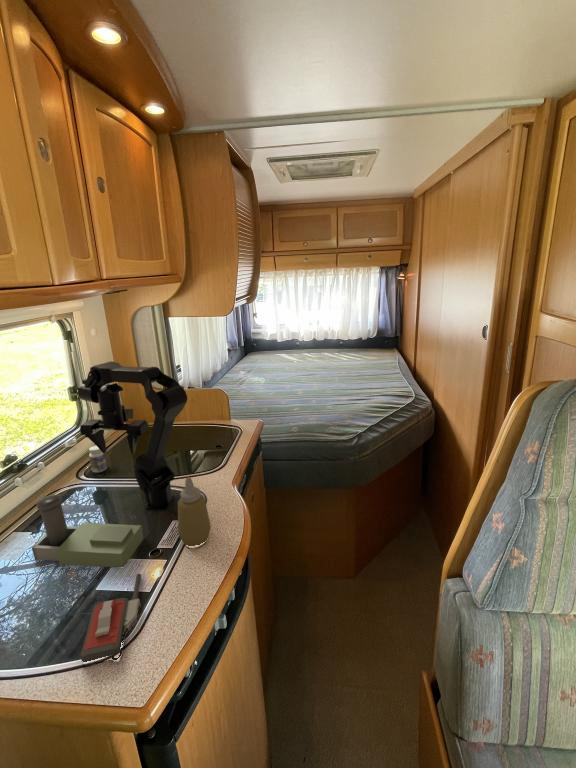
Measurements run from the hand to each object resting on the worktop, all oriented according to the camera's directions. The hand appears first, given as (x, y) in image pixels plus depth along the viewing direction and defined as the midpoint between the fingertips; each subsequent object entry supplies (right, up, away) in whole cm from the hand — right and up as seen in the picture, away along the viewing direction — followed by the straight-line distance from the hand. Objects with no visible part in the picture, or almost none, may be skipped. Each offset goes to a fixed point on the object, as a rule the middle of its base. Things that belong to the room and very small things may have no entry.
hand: (119, 453), depth 116 cm
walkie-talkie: (+17, -26, -40) cm, 51 cm away
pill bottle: (-14, -9, +17) cm, 24 cm away
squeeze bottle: (+28, -19, -19) cm, 39 cm away
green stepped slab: (+2, -20, -21) cm, 29 cm away
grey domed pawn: (-5, -20, -20) cm, 29 cm away
